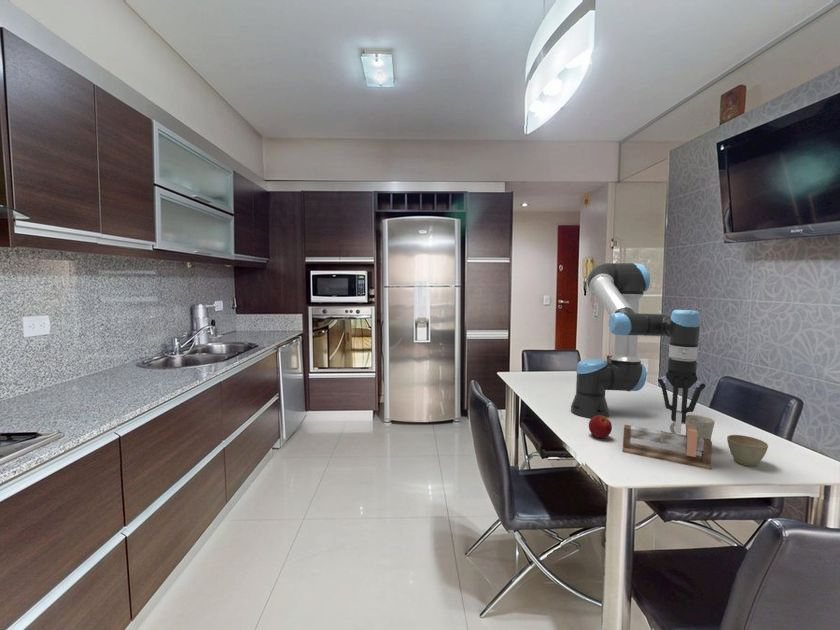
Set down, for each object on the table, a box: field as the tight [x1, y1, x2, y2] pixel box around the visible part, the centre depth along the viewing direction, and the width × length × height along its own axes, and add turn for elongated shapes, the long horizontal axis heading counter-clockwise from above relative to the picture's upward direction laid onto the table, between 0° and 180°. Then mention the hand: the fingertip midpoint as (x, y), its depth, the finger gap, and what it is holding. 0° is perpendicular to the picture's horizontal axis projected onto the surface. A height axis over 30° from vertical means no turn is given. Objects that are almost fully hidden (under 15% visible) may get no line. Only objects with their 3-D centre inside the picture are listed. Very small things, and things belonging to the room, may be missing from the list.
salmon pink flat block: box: [684, 424, 698, 457], centre depth 126 cm, size 2×7×8 cm, turn 150°
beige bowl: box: [726, 434, 769, 467], centre depth 125 cm, size 10×10×7 cm
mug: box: [669, 414, 715, 440], centre depth 138 cm, size 8×13×10 cm, turn 58°
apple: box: [588, 415, 613, 439], centre depth 145 cm, size 8×8×8 cm
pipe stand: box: [621, 424, 713, 470], centre depth 129 cm, size 24×8×8 cm, turn 60°
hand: (677, 431), depth 128 cm, fingers closed
